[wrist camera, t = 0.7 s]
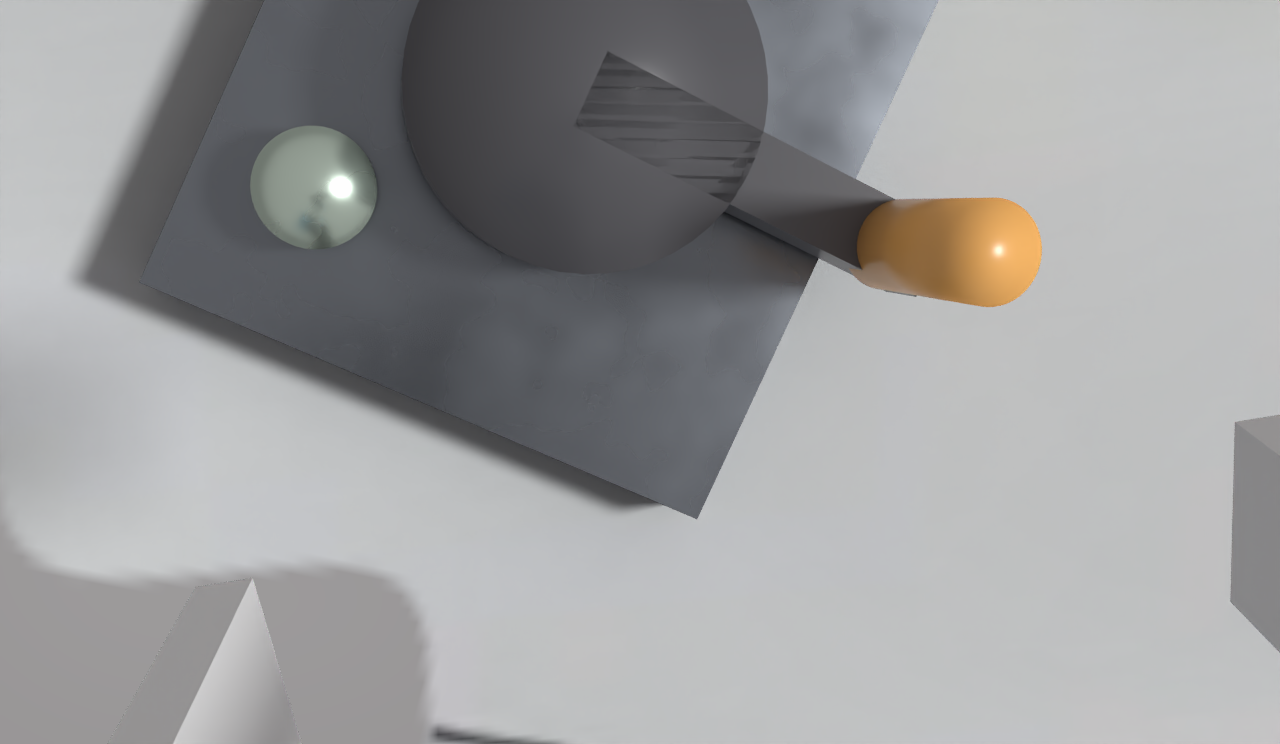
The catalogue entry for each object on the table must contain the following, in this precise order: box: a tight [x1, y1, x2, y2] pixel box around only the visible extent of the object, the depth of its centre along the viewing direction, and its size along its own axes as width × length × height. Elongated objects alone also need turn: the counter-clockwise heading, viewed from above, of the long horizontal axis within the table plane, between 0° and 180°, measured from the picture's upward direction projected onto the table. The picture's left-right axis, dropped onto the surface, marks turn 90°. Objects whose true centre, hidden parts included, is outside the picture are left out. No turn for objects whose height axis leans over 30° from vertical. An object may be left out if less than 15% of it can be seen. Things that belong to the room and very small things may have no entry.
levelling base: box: [139, 0, 939, 519], centre depth 33 cm, size 18×16×3 cm
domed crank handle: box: [401, 0, 1042, 307], centre depth 29 cm, size 15×9×7 cm, turn 65°
